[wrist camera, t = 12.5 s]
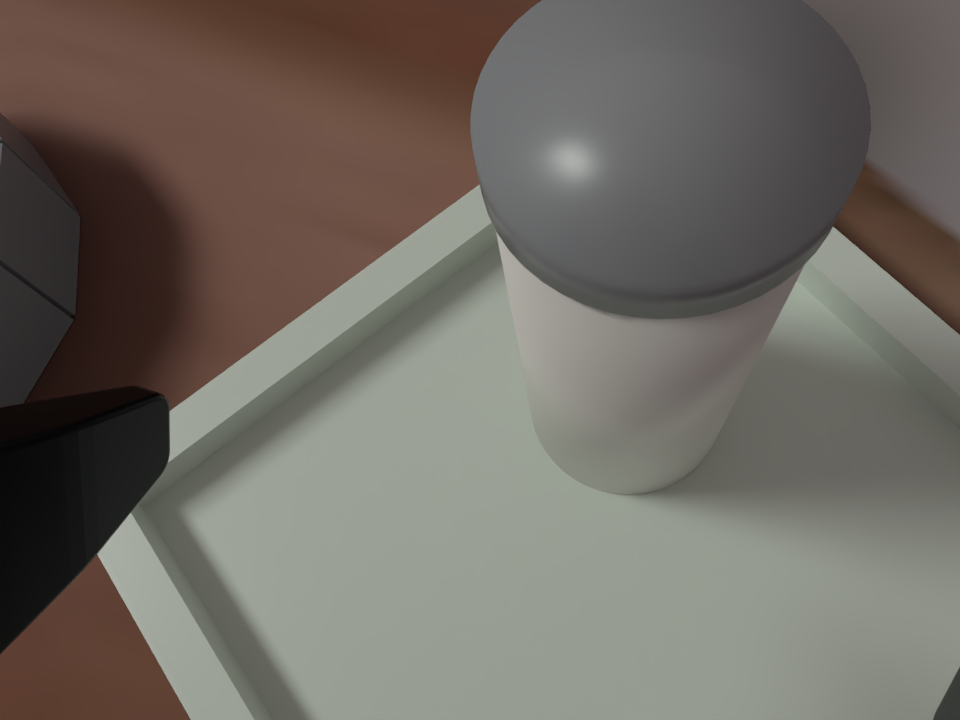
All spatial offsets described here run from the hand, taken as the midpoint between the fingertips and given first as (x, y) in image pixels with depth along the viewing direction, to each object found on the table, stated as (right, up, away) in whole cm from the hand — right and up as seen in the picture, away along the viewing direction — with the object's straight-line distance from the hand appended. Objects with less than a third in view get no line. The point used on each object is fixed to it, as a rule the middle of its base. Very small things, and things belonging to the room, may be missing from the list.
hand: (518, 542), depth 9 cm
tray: (+3, -3, +12) cm, 13 cm away
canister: (+3, +1, +13) cm, 14 cm away
